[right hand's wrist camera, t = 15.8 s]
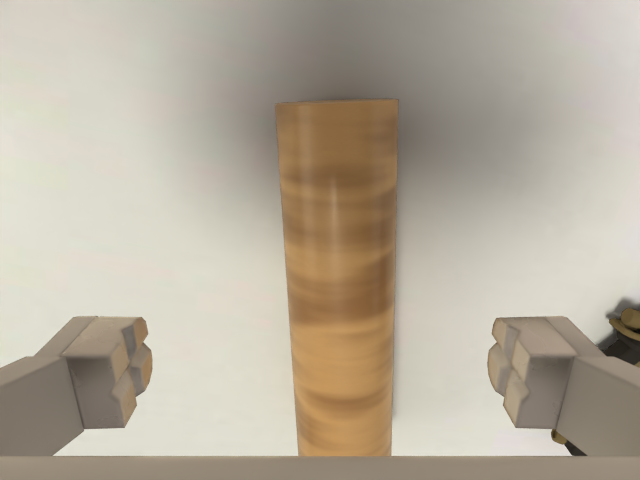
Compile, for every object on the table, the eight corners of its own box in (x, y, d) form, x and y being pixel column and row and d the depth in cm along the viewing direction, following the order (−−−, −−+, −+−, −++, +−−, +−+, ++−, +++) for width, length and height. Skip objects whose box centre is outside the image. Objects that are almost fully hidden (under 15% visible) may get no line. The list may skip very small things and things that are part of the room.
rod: (281, 101, 25) (267, 105, 19) (389, 97, 24) (408, 100, 19) (301, 422, 32) (295, 495, 26) (385, 421, 32) (397, 494, 26)
